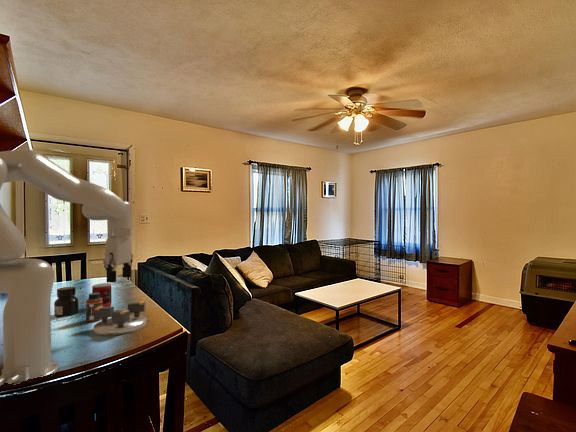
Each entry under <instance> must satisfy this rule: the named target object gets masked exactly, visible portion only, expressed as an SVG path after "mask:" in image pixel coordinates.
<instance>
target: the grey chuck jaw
mask: <svg viewBox="0 0 576 432" xmlns="http://www.w3.org/2000/svg"><path fill="white" fill-rule="evenodd" d="M111 313H112V317H111V318H112V321H113V322H118V327H123V326H124V323H125V322H127V321H129V320H130V315H131V313H130V311H129V310H128V309H125V310H124V309H123V310H122V309H121V310H120V309H119V310H118V309H116V310H114V311H113V312H111Z"/></svg>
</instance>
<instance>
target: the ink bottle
mask: <svg viewBox="0 0 576 432" xmlns="http://www.w3.org/2000/svg"><path fill="white" fill-rule="evenodd" d="M76 290H77V287H76V286H64V287H60V288H57V289H56V297H57V299H56V300H55V301H54V302H53V304H54V306H53V307H54V309H53V311H54V314H53V315H54V317H56V318H64V317H69V316H70V317H71V316H74V315H76V314H78V313H79V311H80V310H79V309H80V306H79V305H80V304H79V297H77V296H76Z"/></svg>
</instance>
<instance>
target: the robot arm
mask: <svg viewBox="0 0 576 432" xmlns="http://www.w3.org/2000/svg"><path fill="white" fill-rule="evenodd" d="M13 182H24V183H26V184H29V185H30V186H32V187H34V188H36V189H37V190H39V191H41V192H44V193H45V194H47V195H49V196H50V197H52V198H54V199H56V200H58V201H62V202H66V203H72V204H79V205H82V207H81V213H82V215H83V216H84V217H85V218H86V219H88V220H91V221H107V222H106V223H107V233H106V234H107V238H106V241H105V246H104V247H105V248H104V258H103V260H102V263H103V267H104V268H105V269H104V270H105V272H106V283H116V282H117V270H116V269H117V267H118V266H120V265H122V272H121V273H122V278H132V267H133V262H134V261H133V259H134V253H132V242H131V238H132V235H131V233H132V232H131V231H132V230H131V203H130V202H129V201H127V200H123V199H122V198H121V197H120V196H118V195H117V194H116V193H114V192H112V191H111V190H110V189H107V188H105V187H104V186H101V185H98V184H95V183H93V182H90V181H88V180H85V179H82V178H79V177H76V176H75V175H73V174H71V172H69V171H68V170H65V169H64V168H63V167H61V166H60V165H58V164H56V163H55V162H54V161H52V160H50V159H49V158H48V157H46V156H45V155H42V153H40V152H37V151H36V150H32V149H28V148H27V149H24V148H23V149H21V148H20V149H14V150H13V149H12V150H6V151H5V150H4V151H0V190H1V189H2V186H3V185H4V184H6V183H13ZM27 247H28V245H27V241H26V239H25V237H24V235H23V234H22V233H21V231H20V230H19V229H18V228H17V226H16V225H15V223H14V222H13V220H11V218H10V216H8V213H6V211H5V209H4V207H3V206H2V204H1V203H0V295H4V294H5V295H8V297H7V300H6V303H5V305H4V308H3V313H2V325H3V326H2V329H3V330H2V331H3V334H2V335H3V339H2V340H3V346H2V347H3V348H2V349H3V368H2V369H1V375H0V386H1V385H3V384H4V383H8V384H12V383H14V384H13V385H16V384H20V383H21V382H23V381H27V380H28V379H33V378H37V377H43V376H47V375H50V374H53V373H54V374H55V373H56V372H58V371H59V370H58V369H59V364H58V362H56V361H52V337H51V336H52V334H51V333H52V328H51V327H52V326H51V324H52V323H51V298H52V296H51V295H52V291H53V286H54V282H55V270H54V268H53V267H52V265H51V264H50V263H48V262H47V261H45V260H43V259H39V258H21V257H22V256H23V255H24V254H25V253H26V251H27ZM54 374H53V375H54Z"/></svg>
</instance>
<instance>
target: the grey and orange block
mask: <svg viewBox="0 0 576 432" xmlns="http://www.w3.org/2000/svg"><path fill="white" fill-rule="evenodd" d="M127 310H129V311H130V314H133V315H134V317H139V316H140V315H141V314H140V313H144V312H145V311H146V301H145V300H142V301H141V300H140V301H137V302H135V301H134V302H129V303H128V304H127Z"/></svg>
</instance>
